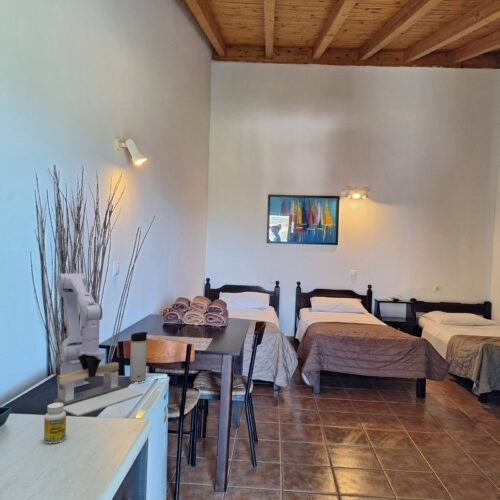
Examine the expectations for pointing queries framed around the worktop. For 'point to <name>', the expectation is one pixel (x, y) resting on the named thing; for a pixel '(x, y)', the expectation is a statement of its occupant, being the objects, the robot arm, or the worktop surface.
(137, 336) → the travel mug
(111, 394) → the mat
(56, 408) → the supplement bottle
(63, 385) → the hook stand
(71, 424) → the worktop surface
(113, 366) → the rail
